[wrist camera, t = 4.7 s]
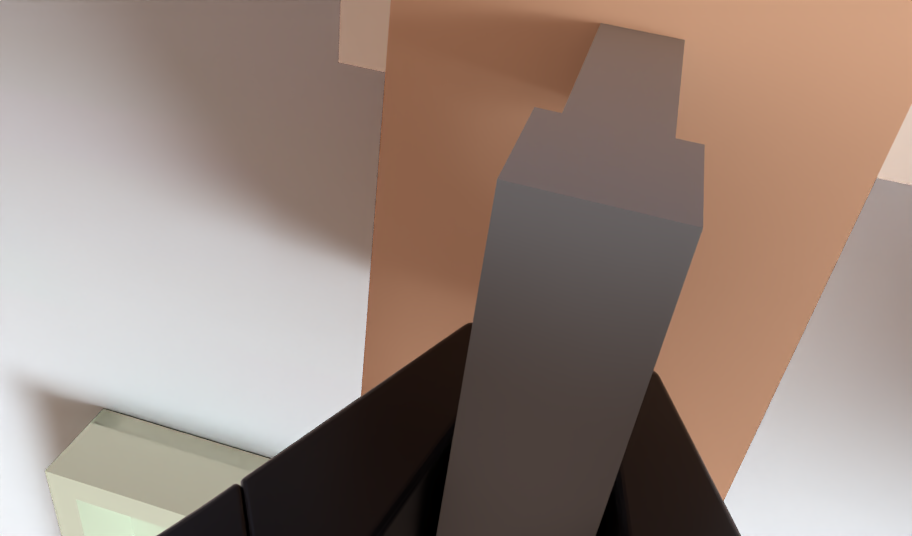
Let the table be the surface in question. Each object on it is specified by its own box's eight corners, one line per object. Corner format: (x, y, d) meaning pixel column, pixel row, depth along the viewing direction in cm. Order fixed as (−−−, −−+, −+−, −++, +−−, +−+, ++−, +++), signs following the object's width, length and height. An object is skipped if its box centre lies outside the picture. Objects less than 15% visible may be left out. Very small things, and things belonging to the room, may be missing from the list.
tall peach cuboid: (892, -157, 10) (1279, 8, 3) (677, 402, 16) (651, 905, 9) (518, -217, 11) (184, -185, 4) (439, 337, 17) (241, 753, 10)
